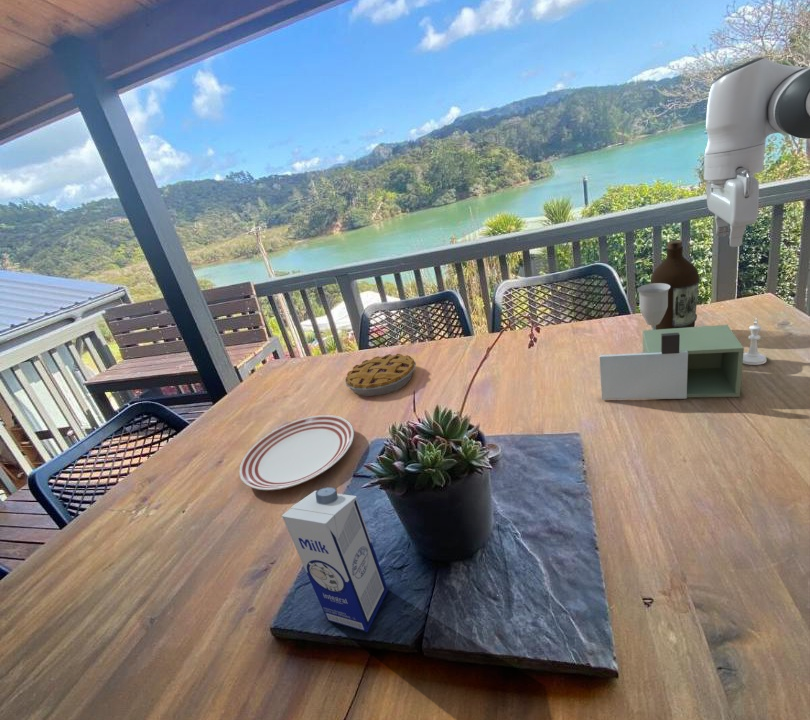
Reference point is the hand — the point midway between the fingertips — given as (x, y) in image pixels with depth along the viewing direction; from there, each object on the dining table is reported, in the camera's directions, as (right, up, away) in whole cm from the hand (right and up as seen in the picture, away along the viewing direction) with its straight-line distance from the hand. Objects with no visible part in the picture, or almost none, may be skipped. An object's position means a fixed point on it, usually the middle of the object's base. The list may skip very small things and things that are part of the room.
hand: (728, 240), depth 85 cm
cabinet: (-2, -29, +10) cm, 30 cm away
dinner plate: (-88, -47, +18) cm, 102 cm away
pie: (-70, -30, +47) cm, 90 cm away
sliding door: (-12, -32, +8) cm, 35 cm away
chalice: (-1, -23, +24) cm, 33 cm away
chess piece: (+15, -24, +12) cm, 31 cm away
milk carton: (-70, -59, -22) cm, 95 cm away
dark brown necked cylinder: (+9, -17, +32) cm, 37 cm away
